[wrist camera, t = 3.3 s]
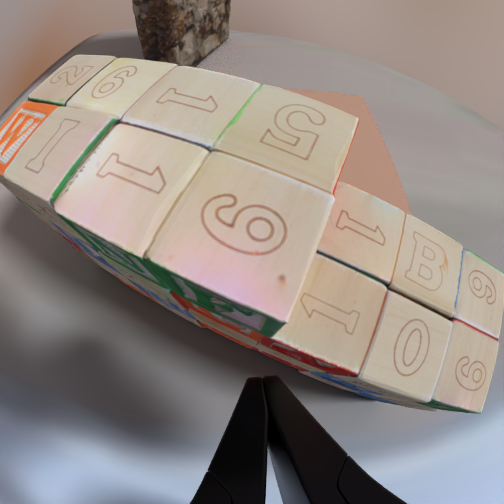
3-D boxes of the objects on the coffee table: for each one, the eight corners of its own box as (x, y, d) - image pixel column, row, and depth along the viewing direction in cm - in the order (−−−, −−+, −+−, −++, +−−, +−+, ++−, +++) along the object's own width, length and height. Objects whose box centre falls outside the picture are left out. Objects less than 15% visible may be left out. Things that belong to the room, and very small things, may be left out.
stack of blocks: (410, 315, 18) (555, 251, 6) (380, 403, 15) (538, 422, 4) (136, 190, 20) (73, 49, 8) (89, 262, 18) (-28, 154, 6)
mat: (411, 228, 21) (415, 225, 20) (75, 237, 19) (72, 233, 19) (360, 100, 27) (362, 96, 27) (118, 103, 26) (117, 98, 25)
